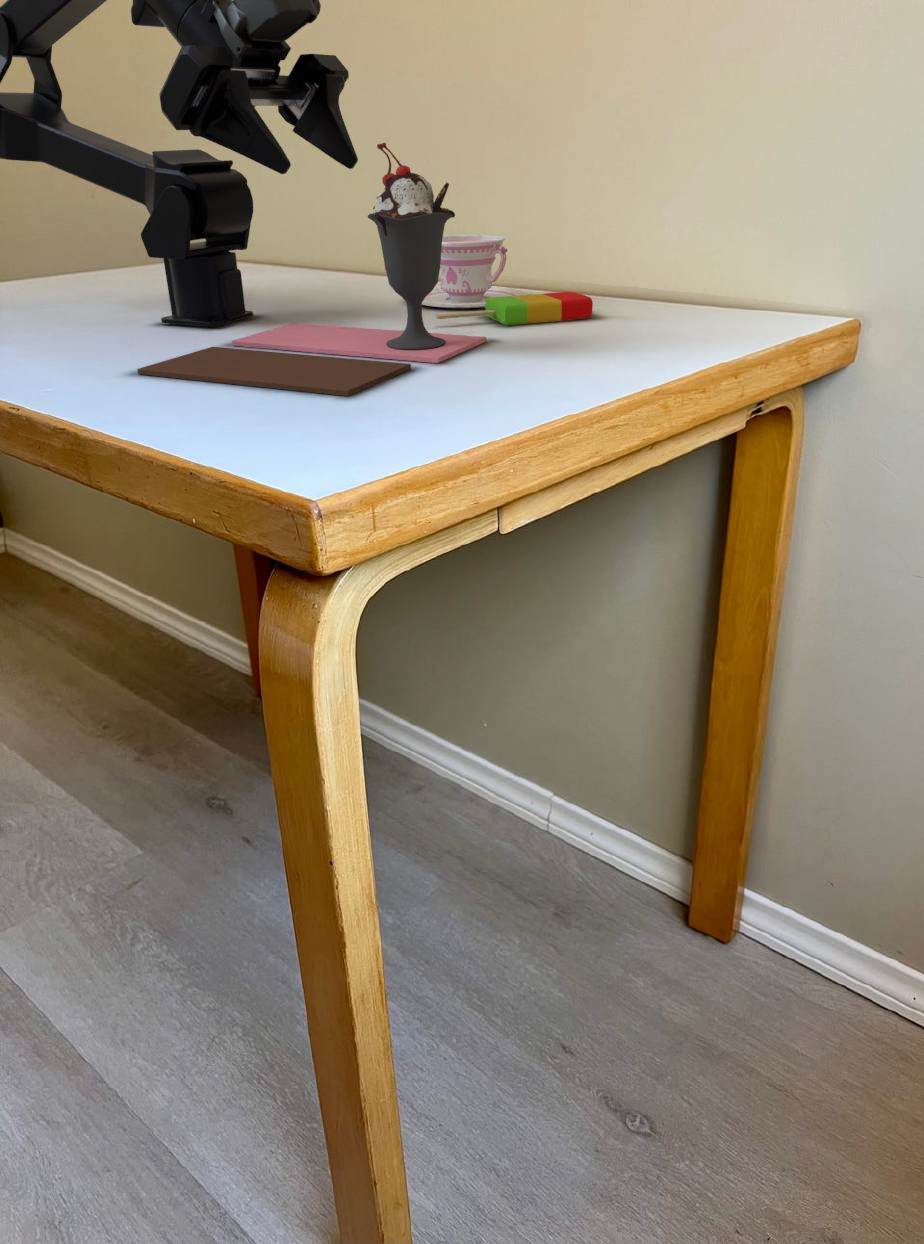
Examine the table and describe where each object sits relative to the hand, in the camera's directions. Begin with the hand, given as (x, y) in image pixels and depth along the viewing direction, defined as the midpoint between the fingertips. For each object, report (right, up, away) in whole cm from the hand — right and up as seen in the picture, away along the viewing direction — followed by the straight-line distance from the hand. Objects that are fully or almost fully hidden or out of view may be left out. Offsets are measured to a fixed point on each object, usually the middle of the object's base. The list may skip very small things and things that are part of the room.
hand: (322, 167), depth 81 cm
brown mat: (-3, -19, -7) cm, 21 cm away
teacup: (+12, -5, +21) cm, 25 cm away
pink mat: (+3, -14, +2) cm, 15 cm away
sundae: (+8, -15, -1) cm, 17 cm away
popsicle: (+16, -10, +10) cm, 22 cm away
